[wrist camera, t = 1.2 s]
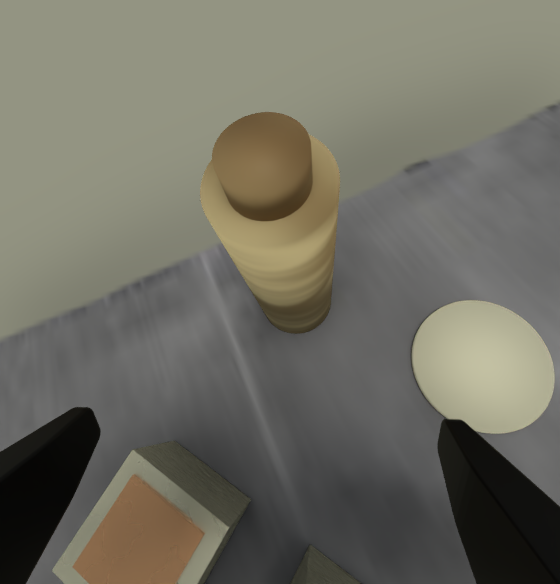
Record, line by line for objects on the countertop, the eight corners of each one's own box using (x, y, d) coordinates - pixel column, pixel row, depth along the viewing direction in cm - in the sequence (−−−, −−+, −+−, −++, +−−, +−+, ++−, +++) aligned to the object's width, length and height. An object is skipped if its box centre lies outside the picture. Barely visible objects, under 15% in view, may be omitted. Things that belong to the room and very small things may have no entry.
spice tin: (192, 604, 18) (145, 674, 13) (115, 532, 20) (48, 572, 15) (251, 499, 20) (227, 528, 15) (174, 440, 21) (130, 449, 16)
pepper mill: (308, 346, 22) (288, 249, 9) (250, 312, 24) (152, 181, 10) (343, 287, 23) (371, 119, 10) (285, 258, 25) (239, 73, 11)
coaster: (522, 462, 19) (526, 463, 18) (389, 385, 21) (390, 385, 20) (568, 340, 20) (573, 339, 20) (442, 281, 23) (444, 279, 22)
